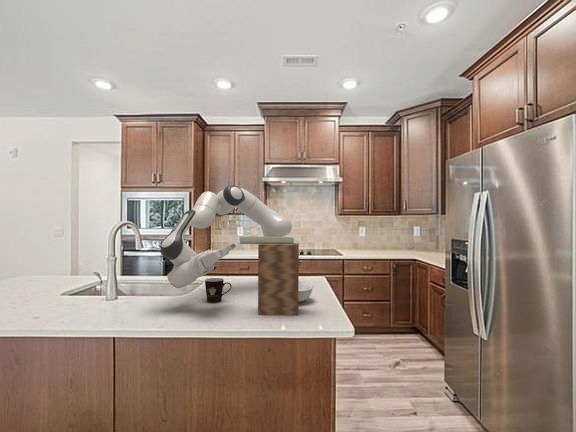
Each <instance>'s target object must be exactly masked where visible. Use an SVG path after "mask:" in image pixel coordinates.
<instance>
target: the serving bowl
mask: <svg viewBox="0 0 576 432" xmlns="http://www.w3.org/2000/svg"><path fill="white" fill-rule="evenodd" d="M312 292H313V286H311V285H310V284H307V283H302V282H300V283H299V298H298V303H300V302H303V301H306V300H307V299H309V297H310V296H311V295H312Z"/></svg>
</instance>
